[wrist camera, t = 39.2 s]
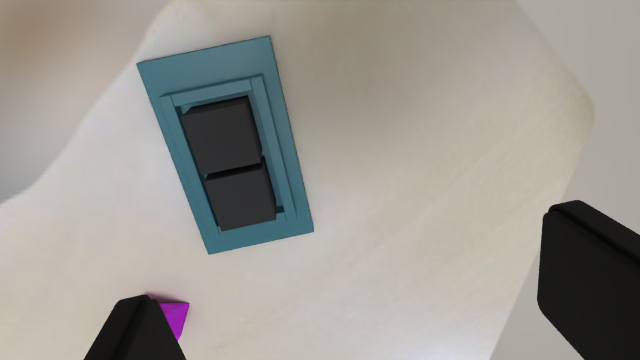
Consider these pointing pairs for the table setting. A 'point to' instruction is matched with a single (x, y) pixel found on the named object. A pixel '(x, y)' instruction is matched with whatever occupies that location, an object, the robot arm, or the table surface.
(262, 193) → the black square block
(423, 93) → the table surface
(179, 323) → the crystal
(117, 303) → the robot arm
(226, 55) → the dock
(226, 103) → the black block
